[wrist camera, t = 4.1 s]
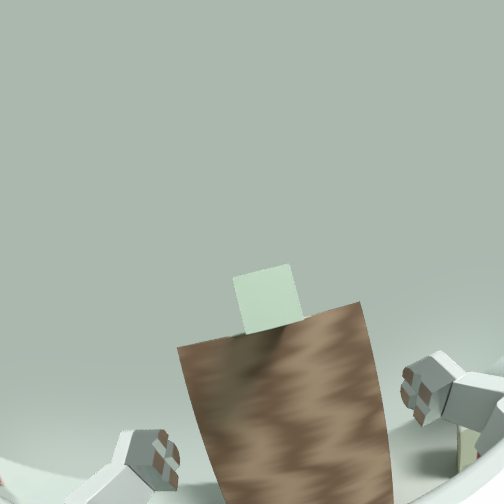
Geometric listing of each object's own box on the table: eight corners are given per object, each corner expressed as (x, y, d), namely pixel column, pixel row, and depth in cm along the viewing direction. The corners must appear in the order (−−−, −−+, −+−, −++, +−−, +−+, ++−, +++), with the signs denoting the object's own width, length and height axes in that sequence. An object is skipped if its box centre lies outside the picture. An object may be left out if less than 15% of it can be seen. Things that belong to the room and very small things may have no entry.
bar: (278, 323, 35) (272, 301, 36) (304, 319, 14) (289, 263, 14) (255, 329, 35) (249, 306, 36) (246, 334, 14) (232, 277, 14)
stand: (367, 480, 25) (331, 308, 32) (394, 515, 16) (359, 300, 23) (253, 510, 25) (201, 341, 32) (250, 554, 15) (176, 346, 22)
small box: (489, 468, 14) (493, 419, 16) (457, 479, 16) (459, 431, 18) (484, 448, 18) (486, 402, 20) (456, 458, 20) (456, 413, 22)
